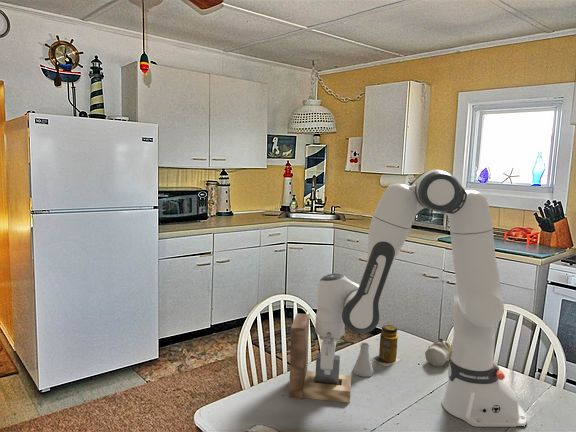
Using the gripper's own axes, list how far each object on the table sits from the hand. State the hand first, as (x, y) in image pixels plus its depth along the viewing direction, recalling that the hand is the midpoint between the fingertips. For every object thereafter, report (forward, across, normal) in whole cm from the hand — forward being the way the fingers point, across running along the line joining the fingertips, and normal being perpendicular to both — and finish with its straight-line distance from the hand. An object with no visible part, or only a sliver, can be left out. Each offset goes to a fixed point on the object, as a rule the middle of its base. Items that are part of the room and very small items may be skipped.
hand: (327, 370), depth 141 cm
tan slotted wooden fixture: (+7, 0, +2) cm, 7 cm away
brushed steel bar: (+5, 0, 0) cm, 5 cm away
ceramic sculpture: (+7, +30, -38) cm, 49 cm away
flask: (+7, +15, -11) cm, 20 cm away
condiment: (+7, +26, -19) cm, 33 cm away
